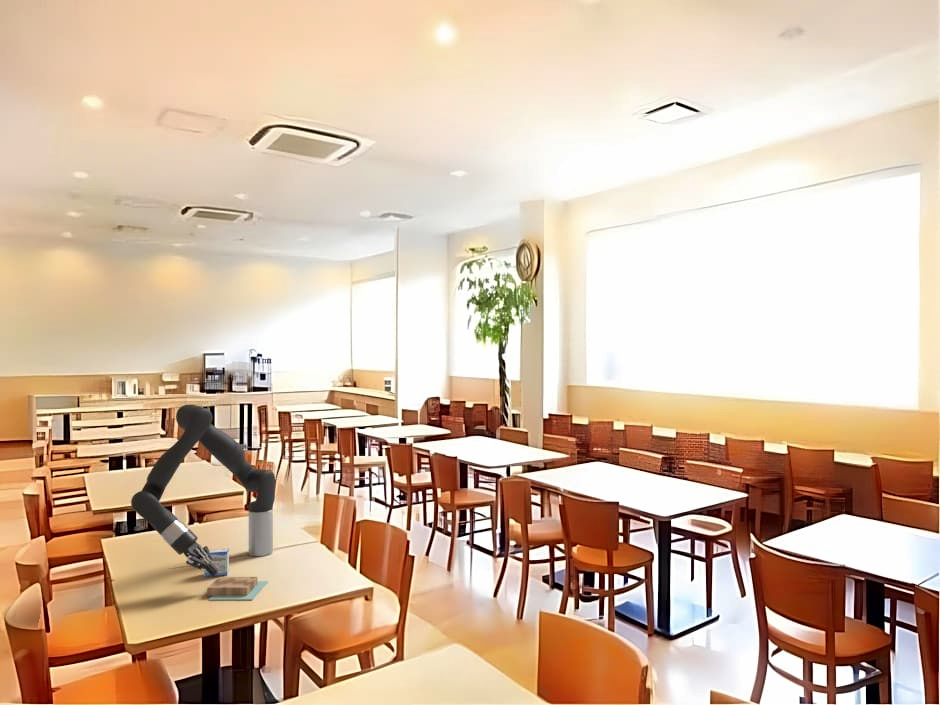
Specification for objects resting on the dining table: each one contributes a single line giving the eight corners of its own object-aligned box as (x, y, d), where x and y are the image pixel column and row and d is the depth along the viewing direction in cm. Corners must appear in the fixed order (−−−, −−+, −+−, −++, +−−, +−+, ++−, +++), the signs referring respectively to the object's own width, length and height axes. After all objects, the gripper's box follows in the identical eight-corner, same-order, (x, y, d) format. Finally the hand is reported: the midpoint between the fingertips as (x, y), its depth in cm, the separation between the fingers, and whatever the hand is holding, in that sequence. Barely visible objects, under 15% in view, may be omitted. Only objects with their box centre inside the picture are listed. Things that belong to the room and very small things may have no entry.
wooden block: (219, 576, 216) (257, 576, 216) (219, 584, 216) (257, 584, 216) (207, 587, 206) (247, 587, 206) (207, 595, 206) (247, 595, 206)
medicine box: (204, 577, 223) (203, 553, 223) (205, 573, 228) (205, 549, 228) (227, 575, 225) (227, 551, 225) (228, 571, 230) (228, 547, 230)
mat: (227, 582, 219) (227, 581, 219) (267, 582, 219) (267, 581, 219) (208, 600, 203) (208, 599, 203) (252, 600, 203) (252, 599, 203)
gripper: (178, 534, 204) (216, 572, 204) (195, 523, 217) (231, 559, 217) (161, 550, 204) (199, 588, 204) (180, 539, 217) (215, 574, 217)
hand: (215, 573), depth 210 cm, fingers closed
